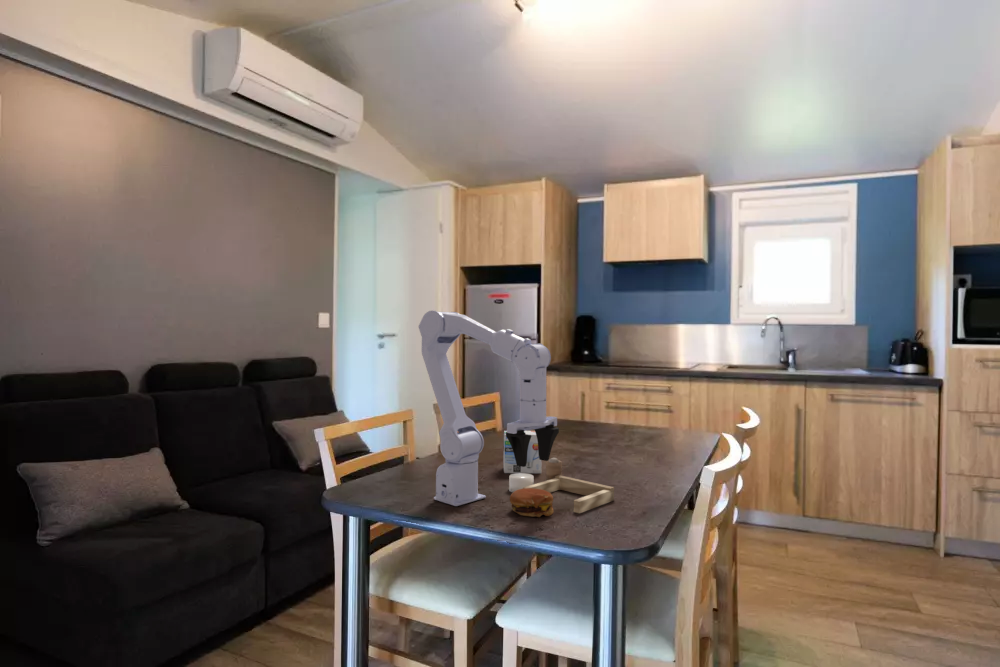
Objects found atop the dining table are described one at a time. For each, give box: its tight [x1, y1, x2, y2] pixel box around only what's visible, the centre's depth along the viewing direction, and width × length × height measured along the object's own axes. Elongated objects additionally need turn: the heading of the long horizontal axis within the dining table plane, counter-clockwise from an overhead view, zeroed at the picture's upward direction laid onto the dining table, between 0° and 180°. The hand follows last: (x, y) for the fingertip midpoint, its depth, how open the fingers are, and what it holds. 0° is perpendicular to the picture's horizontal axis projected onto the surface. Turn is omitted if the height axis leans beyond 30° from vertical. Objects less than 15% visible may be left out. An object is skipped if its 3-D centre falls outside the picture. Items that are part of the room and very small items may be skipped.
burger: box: [509, 488, 554, 518], centre depth 122 cm, size 10×9×5 cm
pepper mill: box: [545, 457, 563, 481], centre depth 143 cm, size 4×4×7 cm
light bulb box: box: [502, 430, 543, 474], centre depth 158 cm, size 11×7×11 cm, turn 92°
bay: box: [523, 475, 615, 514], centre depth 131 cm, size 14×16×3 cm
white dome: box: [508, 473, 535, 493], centre depth 138 cm, size 6×6×4 cm
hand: (532, 463), depth 122 cm, fingers open, 7 cm apart
